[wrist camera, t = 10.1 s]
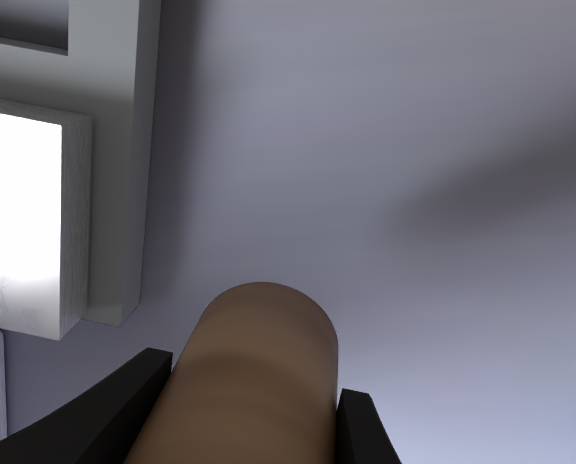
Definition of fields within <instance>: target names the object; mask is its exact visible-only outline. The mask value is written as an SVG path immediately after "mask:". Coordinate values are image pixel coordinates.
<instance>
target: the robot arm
mask: <svg viewBox="0 0 576 464" xmlns="http://www.w3.org/2000/svg"><path fill="white" fill-rule="evenodd" d="M172 356H173V353H172V352H167V351H162V350H158V349H153V348H146V349H145V350H143V351H142V352H140V353H139V354H137V355H136V356H135V357H133V358H132V359H131V360H129V361H128V362H127V363H125V364H124V365H123V366H121V367H120V368H118V369H117V370H116V371H114V372H113V373H111V374H110V375H109V376H107V377H106V378H104V379H103V380H102V381H100V382H99V383H97V384H96V385H94V386H93V387H91V388H90V389H88V390H87V391H85V392H84V393H83V394H81V395H80V396H78V397H76V398H75V399H73V400H72V401H70V402H68V403H67V404H65V405H64V406H62V407H60V408H59V409H57V410H56V411H54V412H52V413H51V414H49V415H47V416H46V417H44V418H42V419H41V420H39V421H37V422H35V423H33V424H32V425H30V426H28V427H26V428H24V429H22V430H20V431H18V432H16V433H14V434H12V435H10V436H9V437H7V420H6V393H5V366H4V339H3V334H2V332H1V331H0V464H123V462H124V460H125V458H126V456H127V455H128V453H129V451H130V449H131V447H132V445H133V443H134V441H135V440H136V438H137V436H138V434H139V432H140V430H141V428H142V426H143V425H144V423H145V421H146V419H147V417H148V415H149V413H150V411H151V410H152V408H153V406H154V404H155V402H156V400H157V398H158V397H159V395H160V393H161V391H162V389H163V387H164V385H165V383H166V382H167V380H168V378H169V376H170V374H171V366H172ZM335 464H402V463H401V461H400V459H399V457H398V455H397V453H396V452H395V450H394V448H393V446H392V444H391V442H390V440H389V437H388V435H387V433H386V431H385V429H384V427H383V424H382V422H381V420H380V418H379V415H378V413H377V411H376V408H375V406H374V403H373V401H372V398H371V397H370V395H369V394H368V393H363V392H358V391H353V390H349V389H344V388H342V392H341V396H340V400H339V404H338V408H337V412H336V446H335Z"/></svg>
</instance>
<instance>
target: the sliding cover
mask: <svg viewBox="0 0 576 464" xmlns="http://www.w3.org/2000/svg"><path fill="white" fill-rule="evenodd" d="M92 121H93V117H92V116H87V115H82V114H77V113H71V112H66V111H61V110H56V109H51V108H45V107H40V106H35V105H30V104H24V103H19V102H14V101H9V100H4V99H0V328H1V329H6V330H10V331H15V332H20V333H25V334H29V335H34V336H39V337H43V338H48V339H53V340H58V341H60V340H61V339H62V338H63V336H64V335H65V334H66V333H67V332H68V331H69V330H70V329H71V328H72V327H73V326H74V325H75V324H76V323H77V322H78V321H79V320H80V319H81V318H82V317H83V316H84V315H85V314H86V313H87V285H88V252H89V219H90V186H91V153H92Z"/></svg>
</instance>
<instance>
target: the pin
mask: <svg viewBox="0 0 576 464" xmlns="http://www.w3.org/2000/svg"><path fill="white" fill-rule="evenodd" d="M337 379H338V340H337V335H336V332H335V329H334V327H333V325H332V322H331V320H330V319H329V317H328V316H327V314H326V313H325V312H324V311H323V309H322V308H321V307H320V306H319V305H318V304H317V303H316V302H315V301H313V300H312V299H311V298H309V297H308V296H307V295H305V294H303V293H301V292H300V291H298V290H296V289H293V288H290V287H288V286H284V285H281V284H276V283H269V282H255V283H247V284H243V285H239V286H236V287H233V288H231V289H229V290H227V291H225V292H223V293H222V294H220V295H219V296H218V297H216V298H215V299H214V300H213V301H212V302H211V303H210V304H209V305H208V307H207V308H206V309H205V311H204V312H203V314H202V316H201V318H200V320H199V322H198V324H197V325H196V327H195V329H194V331H193V333H192V335H191V337H190V339H189V340H188V342H187V344H186V346H185V348H184V350H183V352H182V354H181V355H180V357H179V359H178V361H177V363H176V365H175V367H174V368H173V370H172V372H171V374H170V376H169V378H168V380H167V382H166V383H165V385H164V387H163V389H162V391H161V393H160V395H159V397H158V398H157V400H156V402H155V404H154V406H153V408H152V410H151V411H150V413H149V415H148V417H147V419H146V421H145V423H144V425H143V426H142V428H141V430H140V432H139V434H138V436H137V438H136V440H135V441H134V443H133V445H132V447H131V449H130V451H129V453H128V455H127V456H126V458H125V460H124V462H123V464H335V446H336V412H337Z"/></svg>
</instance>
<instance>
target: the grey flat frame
mask: <svg viewBox="0 0 576 464" xmlns="http://www.w3.org/2000/svg"><path fill="white" fill-rule="evenodd" d="M161 2H162V0H69V22H68V50H67V49H62V48H56V47H51V46H46V45H40V44H35V43H29V42H24V41H19V40H13V39H8V38H3V37H0V99H4V100H9V101H14V102H19V103H24V104H30V105H35V106H40V107H45V108H51V109H56V110H61V111H66V112H71V113H77V114H82V115H87V116H92V117H93V121H92V153H91V186H90V219H89V252H88V285H87V313H86V314H85V315H84V316H83V317H82V318H81V319H83V320H87V321H92V322H97V323H102V324H106V325H111V326H116V327H121V326H122V325H123V323H124V322H125V321H126V320H127V318H128V317H129V316H130V315H131V313H132V312H133V311H134V310H135V308H136V307H137V306H138V305H139V303H140V292H141V278H142V264H143V251H144V237H145V223H146V209H147V195H148V182H149V168H150V154H151V140H152V126H153V113H154V99H155V85H156V71H157V58H158V44H159V30H160V16H161Z"/></svg>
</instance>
